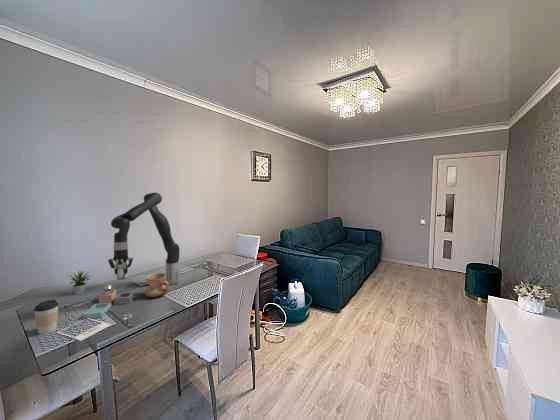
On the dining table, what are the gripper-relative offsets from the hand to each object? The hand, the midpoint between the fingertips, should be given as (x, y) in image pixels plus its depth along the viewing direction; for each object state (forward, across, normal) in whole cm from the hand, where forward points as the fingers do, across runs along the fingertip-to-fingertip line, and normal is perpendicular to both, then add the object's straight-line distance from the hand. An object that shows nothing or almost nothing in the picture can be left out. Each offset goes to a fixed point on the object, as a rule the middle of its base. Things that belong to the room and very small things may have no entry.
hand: (121, 273), depth 150 cm
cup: (+20, +10, -4) cm, 22 cm away
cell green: (+3, 0, 0) cm, 3 cm away
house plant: (+20, +35, -21) cm, 45 cm away
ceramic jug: (+20, -19, -8) cm, 29 cm away
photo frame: (+20, +6, +29) cm, 36 cm away
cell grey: (+19, +10, -4) cm, 22 cm away
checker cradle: (+20, -1, -3) cm, 20 cm away
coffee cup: (+20, +24, +26) cm, 41 cm away
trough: (+20, +8, +11) cm, 24 cm away
